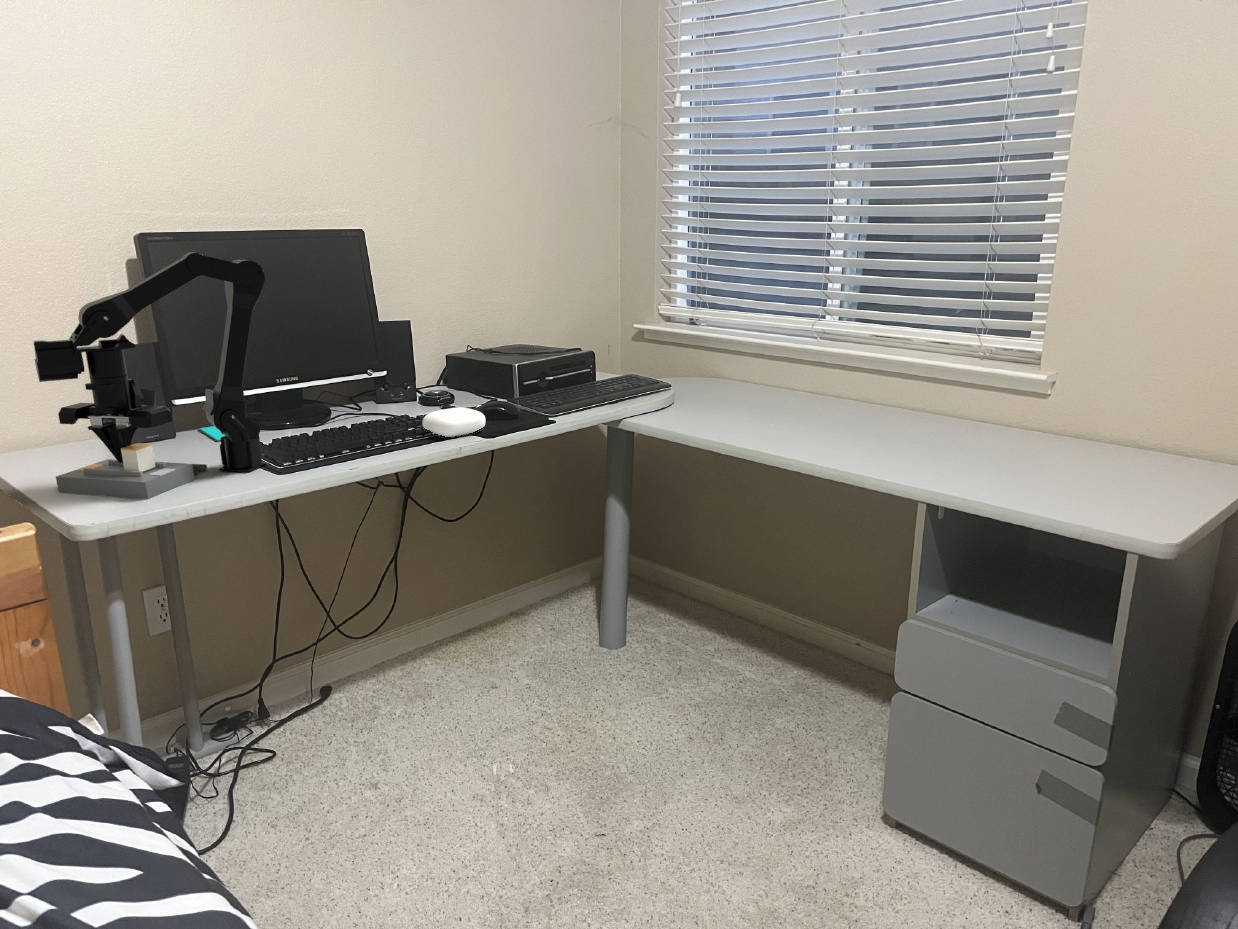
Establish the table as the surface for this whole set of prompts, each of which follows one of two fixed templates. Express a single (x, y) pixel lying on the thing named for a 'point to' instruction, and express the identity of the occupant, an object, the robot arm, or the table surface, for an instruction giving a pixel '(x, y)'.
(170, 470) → the grey tray
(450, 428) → the earbud case
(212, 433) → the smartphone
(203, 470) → the grey thin rod
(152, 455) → the toggle
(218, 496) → the table surface
